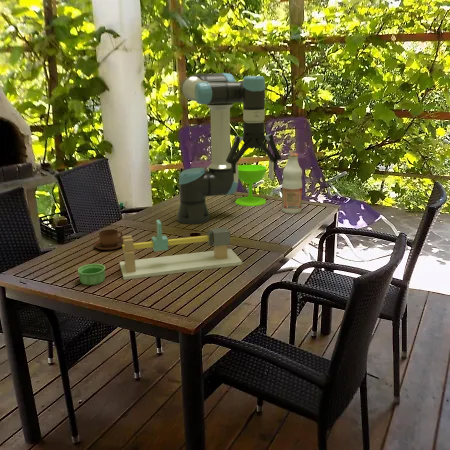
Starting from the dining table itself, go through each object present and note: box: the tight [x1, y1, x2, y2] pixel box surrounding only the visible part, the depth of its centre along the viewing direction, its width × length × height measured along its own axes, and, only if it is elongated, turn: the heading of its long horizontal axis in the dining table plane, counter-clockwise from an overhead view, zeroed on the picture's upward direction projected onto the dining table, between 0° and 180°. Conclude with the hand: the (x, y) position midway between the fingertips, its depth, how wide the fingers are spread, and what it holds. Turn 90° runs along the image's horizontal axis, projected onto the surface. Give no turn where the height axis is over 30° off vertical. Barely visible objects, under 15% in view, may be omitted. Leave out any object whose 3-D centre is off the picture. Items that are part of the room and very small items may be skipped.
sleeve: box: [151, 219, 169, 252], centre depth 177 cm, size 5×5×10 cm
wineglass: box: [234, 164, 267, 207], centre depth 261 cm, size 16×16×18 cm
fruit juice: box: [281, 152, 303, 215], centre depth 242 cm, size 9×9×28 cm
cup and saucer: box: [93, 229, 123, 251], centre depth 202 cm, size 12×12×6 cm
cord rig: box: [119, 226, 243, 281], centre depth 181 cm, size 14×42×12 cm, turn 106°
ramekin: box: [77, 263, 106, 286], centre depth 170 cm, size 9×9×4 cm
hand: (253, 180), depth 186 cm, fingers open, 13 cm apart
